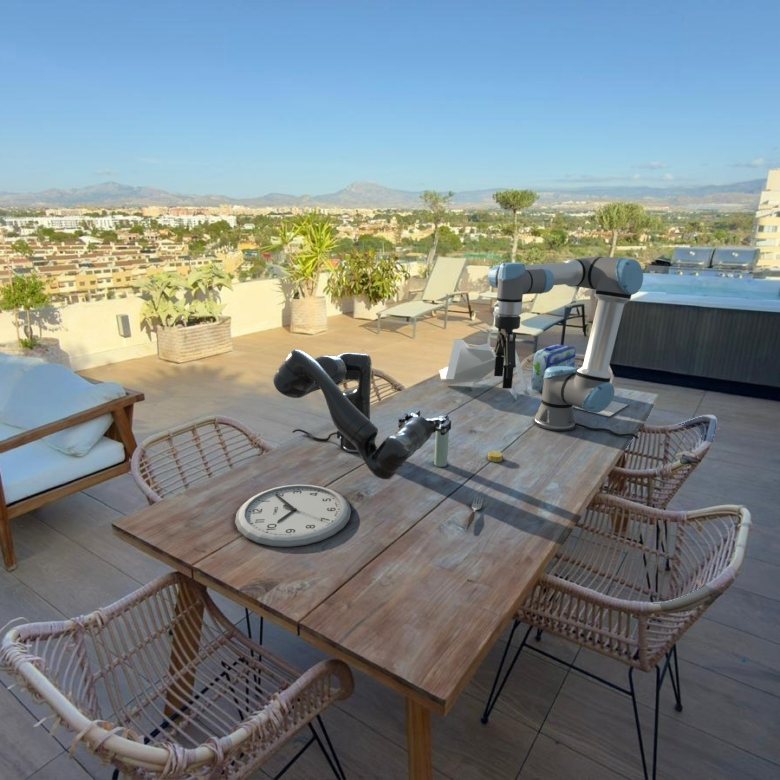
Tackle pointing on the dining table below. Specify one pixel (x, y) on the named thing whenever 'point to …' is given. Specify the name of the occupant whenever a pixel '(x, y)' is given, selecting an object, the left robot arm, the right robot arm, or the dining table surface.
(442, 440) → the jar
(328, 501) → the wall clock
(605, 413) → the invitation card
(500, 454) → the lid
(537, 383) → the lunch box
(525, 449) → the dining table surface
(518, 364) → the white plastic object
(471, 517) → the fork
